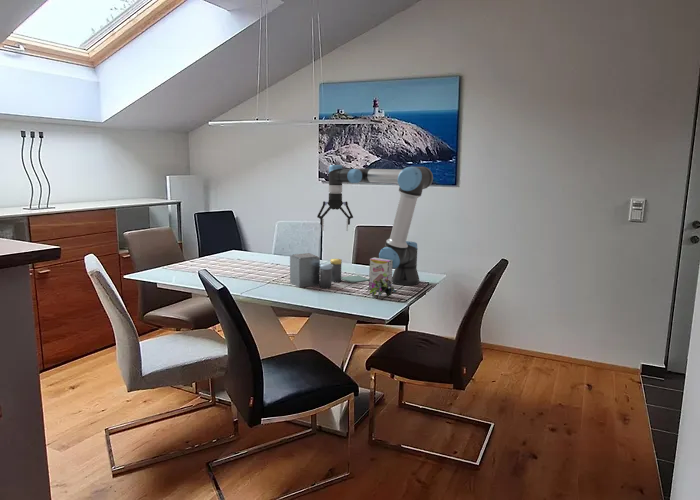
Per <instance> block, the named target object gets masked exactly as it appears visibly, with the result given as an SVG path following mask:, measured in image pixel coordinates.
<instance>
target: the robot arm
mask: <svg viewBox="0 0 700 500" xmlns="http://www.w3.org/2000/svg"><path fill="white" fill-rule="evenodd" d="M433 180H434V175H433V172H432V171H431V169H429V167H426V166H407V167H405V168H403V169H394V168H393V169H392V168H391V169H390V168H387V169H386V168H365V167H364V168H343V165H341V164H330V165H329V166H328V192H329V193H328V201H325V200H324V201H323V202H322V206H321V207H320V209H319V212H318V214H317V216H316V217H317V218H318V219H320V220H319V221H320V222H319V223H320V225H321V226H322V229H321V231H322V232H323V231H325V230H324V226H325V225H324V224H325V223H324V222H325V219H324V217H325V216H326V215H327V214H329V211H331V210H340V211H341V212H342V214H343V215H344V216H345V217H346V221H345V222H346V227H345V228H346V229H345V231H347V232H348V231H349V229H348V228H349V225H351V219H354V216H353V213H352V211H351V209H350V207H349V203H348V201H343V183H345V184H346V183H350V184H360V183H374V184H375V183H377V184H379V183H380V184H397V185H398V186H399V188H398V192H399V193H400V197H399V200H398V203H397V208H396V212H395V217H394V220H393V224H392V229H391V233H390V236H389V238H388V239H386V241H385V244H384V247H383V248H381V249H380V251H379V253H378V258H381V259H388V260H393V264H392V270H393V269H394V271H393V273H392V284H396V285H400V286H401V285H402V286H414V285H415V284H416V285H418V284H420V276H419V273H418V272H419V271H418V270H417V269H418V268H417V266H418V264H417V263H418V243H417V242H416V241H410V240H407V239H408V236H409V231H410V227H411V224H412V219H413V216H414V212H415V209H416V204H417V201H418V198H420V197H421V196H422V194H423V190H425V189H428V188H429V187H430V186H431V185H432V183H433ZM327 205H328V208H326V210H325V211H324V209H325V206H327ZM343 205H344V206H345V207H346V208H345V209H346V210H347V212H348V213H347V212H346V211H345V210H344V208H343V207H342V206H343ZM323 211H324V212H323ZM321 214H322V215H321ZM348 214H349V215H348Z"/></svg>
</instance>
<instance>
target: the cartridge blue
mask: <svg viewBox="0 0 700 500" xmlns="http://www.w3.org/2000/svg"><path fill="white" fill-rule="evenodd" d="M331 278H332V264H331V263H320V285H319V287H320V288H321V289H330V288H332V282H331Z"/></svg>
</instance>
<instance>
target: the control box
mask: <svg viewBox="0 0 700 500" xmlns="http://www.w3.org/2000/svg"><path fill="white" fill-rule="evenodd" d="M320 264H321V258H320V256H318V255H316V254H312V253H310V252H308V253H307V252H306V253H295V254H292V255H291V254H290V255H289V283H290V284H292V285H294V286H296V287H297V288H306V287H313V286H320Z"/></svg>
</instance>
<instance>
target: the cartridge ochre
mask: <svg viewBox="0 0 700 500" xmlns="http://www.w3.org/2000/svg"><path fill="white" fill-rule="evenodd" d="M342 260H343V259H341V258H330V263H329V264H332V278H331V283H341V282H342V279H341V277H342V265H343V263H342V262H343V261H342Z"/></svg>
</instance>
